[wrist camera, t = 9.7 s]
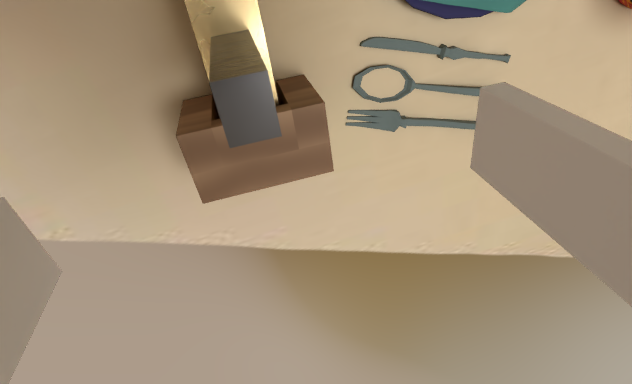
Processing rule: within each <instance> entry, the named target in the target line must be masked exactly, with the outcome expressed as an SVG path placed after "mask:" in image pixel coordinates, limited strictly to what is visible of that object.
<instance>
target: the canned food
mask: <svg viewBox="0 0 632 384" xmlns="http://www.w3.org/2000/svg"><path fill="white" fill-rule="evenodd" d="M618 1H619V2H620V3H621V4H623V5H625V6H626V7H628V8H630V9H632V0H618Z"/></svg>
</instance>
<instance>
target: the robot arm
mask: <svg viewBox="0 0 632 384" xmlns="http://www.w3.org/2000/svg"><path fill="white" fill-rule="evenodd" d="M470 168H471V169H472V170H474V171H475V172H476V173H477V174H478V175H479V176H481V177H482V178H483V179H484V180H485V181H486V182H487V183H489V184H490V185H491V186H492V187H493V188H494V189H496V190H497V191H498V192H499V193H500V194H501V195H503V196H504V197H505V198H506V199H507V200H508V201H510V202H511V203H512V204H513V205H514V206H515V207H516V208H518V209H519V210H520V211H521V212H522V213H523V214H525V215H526V216H527V217H528V218H529V219H530V220H532V221H533V222H534V223H535V224H536V225H537V226H539V227H540V228H541V229H542V230H543V231H544V232H545V233H547V234H548V235H549V236H550V237H551V238H552V239H554V240H555V241H556V242H557V243H558V244H559V245H561V246H562V247H563V248H564V249H565V250H566V251H568V252H569V253H570V254H571V255H572V256H573V257H574V258H576V259H577V260H578V261H579V262H580V263H581V264H583V265H584V266H585V267H586V268H587V269H588V270H590V271H591V272H592V273H593V274H594V275H595V276H597V277H598V278H599V279H600V280H601V281H602V282H603V283H605V284H606V285H607V286H608V287H609V288H610V289H612V290H613V291H614V292H615V293H616V294H617V295H619V296H620V297H621V298H622V299H623V300H624V301H626V302H627V303H628V304H629V305H630V306H631V307H632V141H631V140H629V139H627V138H624V137H622V136H620V135H618V134H616V133H614V132H611V131H609V130H607V129H605V128H603V127H601V126H598V125H596V124H594V123H592V122H590V121H588V120H585V119H583V118H581V117H579V116H577V115H575V114H572V113H570V112H568V111H566V110H564V109H562V108H560V107H557V106H555V105H553V104H551V103H549V102H547V101H544V100H542V99H540V98H538V97H536V96H534V95H531V94H529V93H527V92H525V91H523V90H521V89H518V88H516V87H514V86H512V85H510V84H508V83H505V82H502V83H498V84H493V85H489V86H485V87H480V93H479V101H478V109H477V118H476V126H475V134H474V142H473V150H472V158H471V166H470ZM61 273H62V270H61V269H60V268H59V266H58V265H57V264H56V263H55V261H54V260H53V259H52V258H51V256H50V255H49V254H48V253H47V251H46V250H45V249H44V248H43V246H42V245H41V244H40V242H39V241H38V240H37V239H36V237H35V236H34V235H33V234H32V232H31V231H30V230H29V229H28V227H27V226H26V225H25V223H24V222H23V221H22V220H21V218H20V217H19V216H18V215H17V213H16V212H15V211H14V210H13V208H12V207H11V206H10V205H9V203H8V202H7V201H6V199H5V198H4V197H1V198H0V384H9V381H10V380H11V377H12V375H13V373H14V371H15V369H16V367H17V365H18V363H19V361H20V358H21V357H22V354H23V352H24V350H25V348H26V346H27V344H28V342H29V340H30V338H31V336H32V334H33V331H34V329H35V327H36V325H37V323H38V321H39V319H40V317H41V315H42V313H43V311H44V308H45V306H46V304H47V302H48V300H49V298H50V296H51V294H52V292H53V290H54V288H55V285H56V283H57V281H58V279H59V277H60V275H61Z"/></svg>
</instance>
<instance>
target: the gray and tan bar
mask: <svg viewBox="0 0 632 384" xmlns="http://www.w3.org/2000/svg"><path fill="white" fill-rule="evenodd" d="M184 2H185V5H186V9H187V12H188V15H189V18H190V21H191V25H192V28H193V31H194V34H195V37H196V40H197V44H198V47H199V50H200V53H201V56H202V60H203V63H204V66H205V69H206V72H207V76H208V79H209V84H210V87H211V90H212V94H213V97H214V100H215V103H216V106H217V110H218V113H219V116H220V119H221V122H222V125H223V129H224V132H225V135H226V138H227V141H228V145H229V148H234V147H238V146H242V145H246V144H251V143H255V142H259V141H264V140H268V139H272V138H276V137H281V136H282V134H281V129H280V125H279V120H278V116H277V111H276V106H279V102H278V97H277V92H276V87H275V83H274V78H273V73H272V68H271V64H270V59H269V54H268V49H267V45H266V40H265V35H264V30H263V25H262V21H261V16H260V11H259V6H258V2H257V0H184Z"/></svg>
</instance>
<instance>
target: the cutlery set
mask: <svg viewBox="0 0 632 384" xmlns="http://www.w3.org/2000/svg"><path fill="white" fill-rule="evenodd" d="M405 1H406V2H407V3H408V4H409V5H411V6H412V7H413V8H416V9H418V10H421V11H424V12H427V13H430V14H433V15H436V16H438V17H441V18H444V19H454V18H471V17H481V16H484V15H486V14H488V13H491V12H493V11H496V12H504V13H509V12H512V11H513V10H514V9H516V8H517V7H518V6H520V5H521V4H522V3H524V2H525V1H526V0H405ZM360 46H363V47H372V48H382V49H391V50H401V51H410V52H420V53H429V54H437V55H438V58H440V59H442V60H443V58H444V57H449V58H451V59H453V60H455V59H459V58H464V57H466V58H476V59H493V60H500V61H504V62H506V63H508V61H509V59H510V56H511V55H508V54H506V55H491V54H483V53H478V52H471V51H464V50H462V49H459V48H457V47H455V46H452V47H450V48H447V46H446V45H444V44H441V46H440V47H436V46H433V45H430V44H426V43H423V42H418V41H412V40H404V39H395V38H385V37H372V38H368V39H366V40H364V41H362V42H361V43H360ZM379 68H391V69H394V70H396V71H399V72H400V73H401V74H402V76H403V77H404V78H405V80H406V81H405V85H404V89H403V90H402V91H401V92H399V93H398V94H396V95H395V96H393V97H388V98H382V99H380V98H377V97H373V96H369V95H368V94H367V93H366V92H365V91H364V90H363V89H362V88H361V87H360V85H361V81H362V76H364V75H365V74H367V73H369V72H370V71H372V70H374V69H379ZM414 88H416V89H423V90H430V91H439V92H446V93H454V94H463V95H472V96H479V93H480V88H479V87H459V86H444V85H429V84H417V83H415V82H414V80H413V79H412V78H411V77H410V76H409V74H408V73H407V72H406V71H405V70H402V69H399V68H396V67H393V66H390V65H386V66H377V67H370V68H368V69H366V70H365V71H363V72H361V73H360V74H358V75H356V76H355V79H354V85H353V89H354V90H355V91H357V92H358V93H359V94H360V95H361V96H362V97H363V98H365V99H369V100H372V101H376V102H380V103H381V102H389V101H396V100H399V99H400V98H402V97H404V96H405V95H407V94H409V93H410V92H411V91H412V90H413V89H414ZM348 113H355V114H364V115H370V116H347V119H351V120H361V121H368V122H353V123H346V125H349V126H360V127H367V128H374V129H381V130H387V131H392V132H395V131H396V129H397V128H398V127H399V126H401V127H404V128H406V126H435V127H450V128H460V129H475V126H476V121H462V120H450V119H432V118H406V117H405V116H400V113H399V112H398V111H397V110H348Z"/></svg>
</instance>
